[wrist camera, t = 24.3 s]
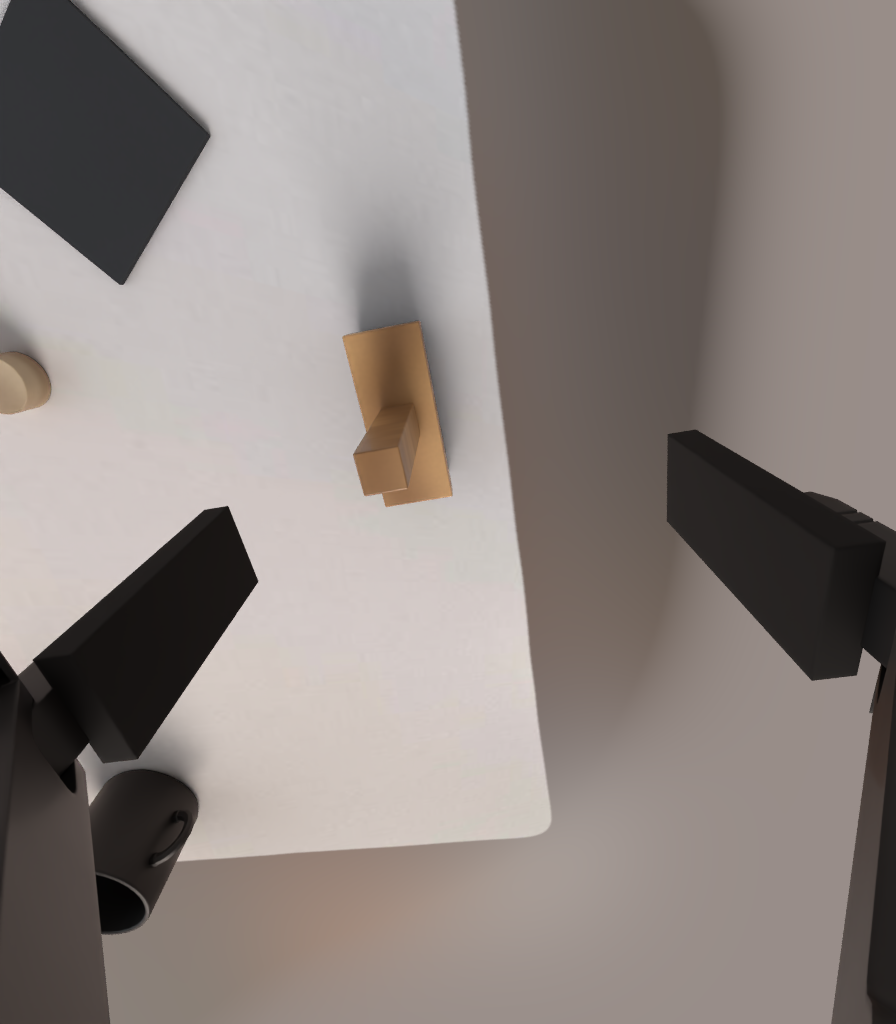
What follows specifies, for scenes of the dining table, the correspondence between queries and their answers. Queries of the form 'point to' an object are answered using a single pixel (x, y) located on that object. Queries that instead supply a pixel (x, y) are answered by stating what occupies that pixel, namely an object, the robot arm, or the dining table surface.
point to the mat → (87, 134)
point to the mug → (137, 843)
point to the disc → (21, 383)
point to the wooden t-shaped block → (397, 416)
